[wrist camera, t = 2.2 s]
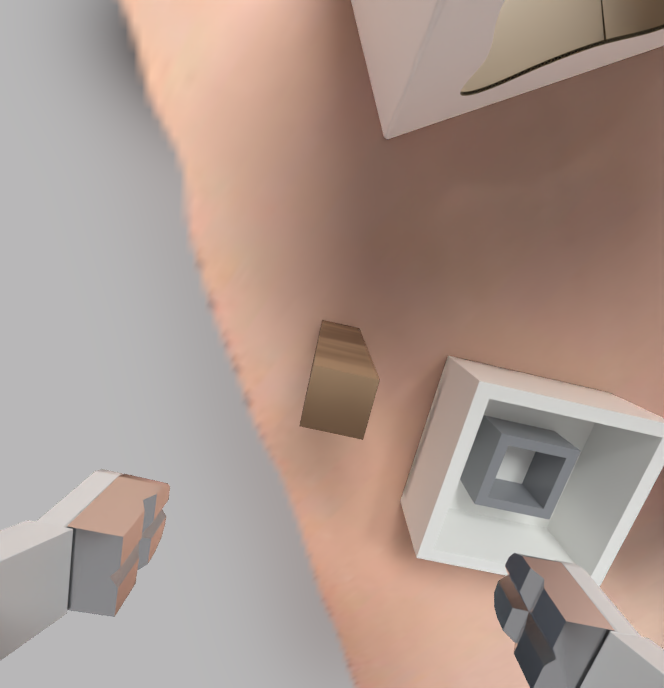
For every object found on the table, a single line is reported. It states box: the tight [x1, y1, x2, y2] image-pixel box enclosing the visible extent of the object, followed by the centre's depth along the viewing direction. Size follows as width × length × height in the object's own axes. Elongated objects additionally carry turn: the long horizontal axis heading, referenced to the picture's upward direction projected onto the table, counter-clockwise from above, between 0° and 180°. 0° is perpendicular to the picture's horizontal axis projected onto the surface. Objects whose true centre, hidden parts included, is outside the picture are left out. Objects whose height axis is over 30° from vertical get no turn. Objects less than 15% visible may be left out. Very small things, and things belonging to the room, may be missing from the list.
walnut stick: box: [300, 320, 380, 440], centre depth 21 cm, size 3×3×12 cm
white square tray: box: [400, 356, 664, 587], centre depth 26 cm, size 14×14×6 cm
